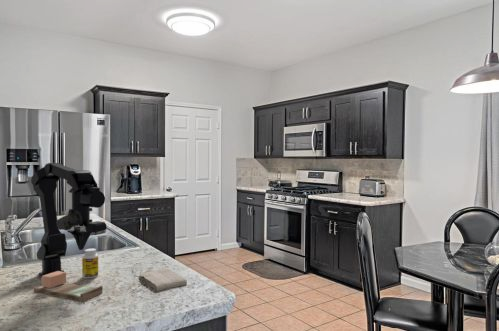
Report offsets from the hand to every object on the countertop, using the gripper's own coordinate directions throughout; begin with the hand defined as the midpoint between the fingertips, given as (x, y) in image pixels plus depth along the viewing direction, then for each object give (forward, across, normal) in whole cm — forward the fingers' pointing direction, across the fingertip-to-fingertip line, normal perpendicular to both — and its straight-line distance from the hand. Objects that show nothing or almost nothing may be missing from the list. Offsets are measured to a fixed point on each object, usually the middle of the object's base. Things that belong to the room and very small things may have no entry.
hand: (81, 249), depth 129 cm
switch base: (+12, +3, -8) cm, 15 cm away
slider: (+10, -3, -8) cm, 14 cm away
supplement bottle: (+12, -3, +7) cm, 14 cm away
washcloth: (+13, +25, +13) cm, 31 cm away
